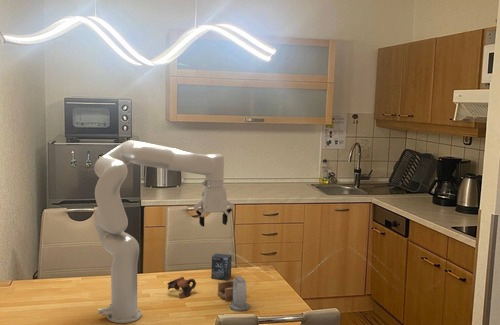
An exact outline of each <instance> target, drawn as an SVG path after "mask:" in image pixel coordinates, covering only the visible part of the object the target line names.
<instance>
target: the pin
mask: <svg viewBox="0 0 500 325" xmlns="http://www.w3.org/2000/svg"><path fill="white" fill-rule="evenodd" d="M232 280H233V300H232V302H233V305H234V306H235V307H236V308H239V307H246V302H247V281H246V279H245V278H243V277H242V276H241V275H235V276H234V279H232Z"/></svg>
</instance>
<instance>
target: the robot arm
mask: <svg viewBox="0 0 500 325" xmlns="http://www.w3.org/2000/svg"><path fill="white" fill-rule="evenodd" d="M130 164H135V165H139V166H145V167H151V168H157V169H163V170H168V171H176V172H183V173H190V174H197V175H201V176H205V177H204V181H201V185H202V186H204V187H203V188H202V193H201V201H200V202H198V203H196V204H195V205H193V210H194V211H195V213H196V214H197V215H198V217H199V220H198V223H199V225H200V226H201V227H202V228H203V227H205V214H207V213H208V214H212V213H222V225H225V226H227V223H228V216H229V214H230V213H231V212H232V211H233V208H234V206H235V204H234V203H232V202H230V201H228V197H227V189H226V187H225V186H224V179H225V177H224V173H225V171H224V169H225V157H224V155H223V154H220V153H208V154H203V153H202V154H200V153H193V152H189V151H184V150H181V149H179V148H175V147H171V146H166V145H160V144H154V143H150V142H144V141H140V140H139V141H138V140H134V139H128V140H126V141H124V142H122V143H121V144H119V145H117V146H116V147H115V148H112V149H111V150H109V151H108V152H107V153H104V154H103V155H102V156H101V157H99V158H98V159H97V160H96V161H95V164H94V166H93V167H94V168H93V170H94V173H95V175H96V176H97V177H98V180H97V182H96V185H95V188H94V197H95V202H96V205H97V208H96V209H95V210H94V212H93V223H94V226H95V229H96V232H97V235H98V237H99V240H100V243H101V245H102V247H103V249H104V250H105V252H107V253H108V254H110V255H111V256H112V262H111V268H110V295H111V296H110V298H111V299H110V303H109V306H107V307H104V308H103V307H100V308H98V310H97V312H98V313H97V314H99V315H101V314H102V316H106V318H107V320H108V321H110V322H111V323H116V324H127V323H129V324H130V323H132V322H136V321H137V320H139V319H140V318H142V315H143V314H142V311H141V309H140V308H138V262H139V258H140V257H139V256H140V244H139V242H138V240H137V239H136V238H135V237H134V236H132V235H131V234H129V233H128V232H125V231H126V230H127V228H128V223H129V220H128V216H127V214H126V210H125V207H124V205H123V201H122V198H121V195H120V191H121V190H120V189H121V187H122V184H123V183H124V181H125V179H126V178H127V176H128V172H129V170H128V167H127V166H128V165H130ZM199 208H201V210H199Z"/></svg>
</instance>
